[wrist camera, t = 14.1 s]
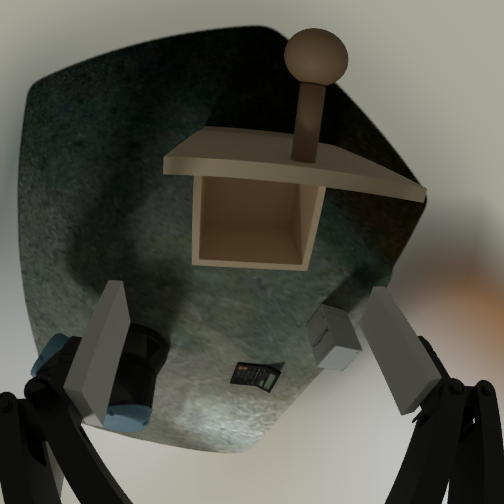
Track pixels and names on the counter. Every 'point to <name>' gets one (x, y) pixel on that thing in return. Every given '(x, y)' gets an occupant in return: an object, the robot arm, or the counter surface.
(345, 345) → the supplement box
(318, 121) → the flap
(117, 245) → the counter surface
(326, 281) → the counter surface
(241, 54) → the counter surface
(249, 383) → the calculator
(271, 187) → the carton
